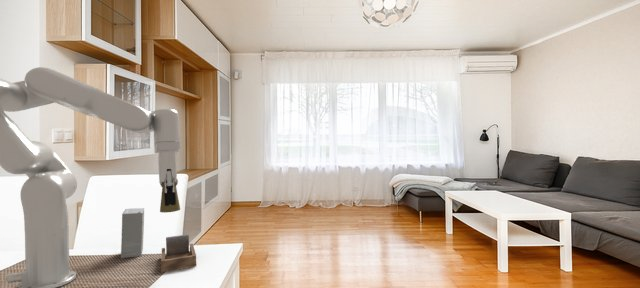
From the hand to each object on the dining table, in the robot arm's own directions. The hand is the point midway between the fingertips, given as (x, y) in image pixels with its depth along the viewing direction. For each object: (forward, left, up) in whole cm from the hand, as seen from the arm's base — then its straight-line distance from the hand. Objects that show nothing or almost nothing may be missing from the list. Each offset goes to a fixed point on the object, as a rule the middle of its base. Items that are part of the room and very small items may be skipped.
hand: (170, 203), depth 103 cm
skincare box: (-12, +18, -20) cm, 30 cm away
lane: (+2, +2, -20) cm, 20 cm away
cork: (0, +1, -2) cm, 2 cm away
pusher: (+2, +8, -20) cm, 22 cm away
